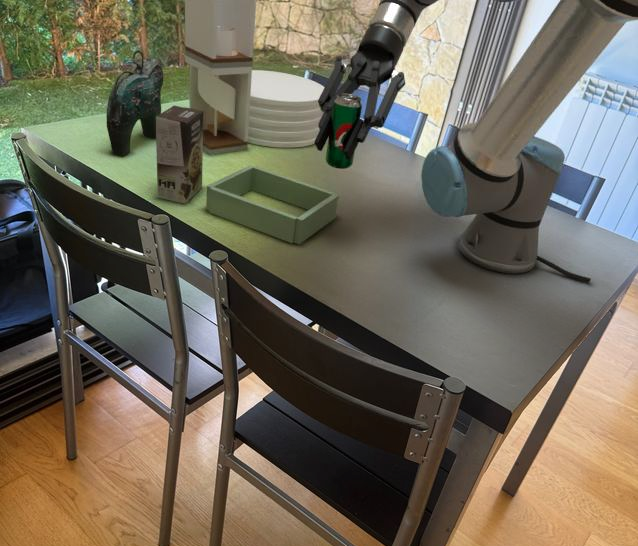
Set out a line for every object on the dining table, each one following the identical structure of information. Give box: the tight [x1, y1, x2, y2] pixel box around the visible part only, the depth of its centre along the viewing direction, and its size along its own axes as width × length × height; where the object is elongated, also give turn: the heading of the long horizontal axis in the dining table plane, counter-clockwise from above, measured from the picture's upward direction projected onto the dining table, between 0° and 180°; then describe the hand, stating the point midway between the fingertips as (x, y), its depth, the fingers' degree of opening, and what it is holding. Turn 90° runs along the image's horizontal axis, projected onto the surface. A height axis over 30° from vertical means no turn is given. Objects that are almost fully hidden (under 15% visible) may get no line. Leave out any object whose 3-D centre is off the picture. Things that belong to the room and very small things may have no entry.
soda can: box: [325, 93, 363, 170], centre depth 107 cm, size 5×5×12 cm
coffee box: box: [155, 105, 204, 205], centre depth 119 cm, size 9×6×16 cm
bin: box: [205, 165, 340, 245], centre depth 120 cm, size 21×16×5 cm
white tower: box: [184, 0, 257, 156], centre depth 138 cm, size 11×11×35 cm
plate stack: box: [247, 69, 325, 149], centre depth 160 cm, size 28×28×12 cm
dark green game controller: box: [105, 49, 164, 157], centre depth 136 cm, size 20×6×20 cm, turn 164°
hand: (332, 150), depth 106 cm, fingers closed on soda can, 5 cm apart
